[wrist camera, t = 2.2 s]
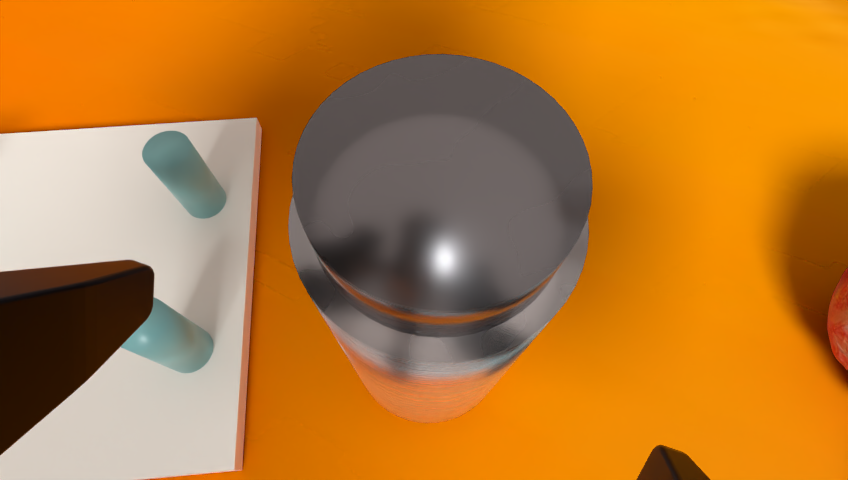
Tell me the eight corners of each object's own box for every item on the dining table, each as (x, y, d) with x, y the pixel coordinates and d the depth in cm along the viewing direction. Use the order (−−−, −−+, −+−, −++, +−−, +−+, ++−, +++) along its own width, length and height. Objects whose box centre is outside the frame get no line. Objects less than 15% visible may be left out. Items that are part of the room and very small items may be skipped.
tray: (242, 470, 17) (189, 468, 13) (-200, 511, 16) (-396, 523, 12) (262, 129, 23) (229, 57, 19) (-62, 150, 22) (-166, 80, 18)
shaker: (440, 457, 17) (479, 428, 6) (324, 356, 18) (189, 187, 8) (529, 335, 19) (681, 145, 8) (418, 251, 20) (417, -7, 9)
